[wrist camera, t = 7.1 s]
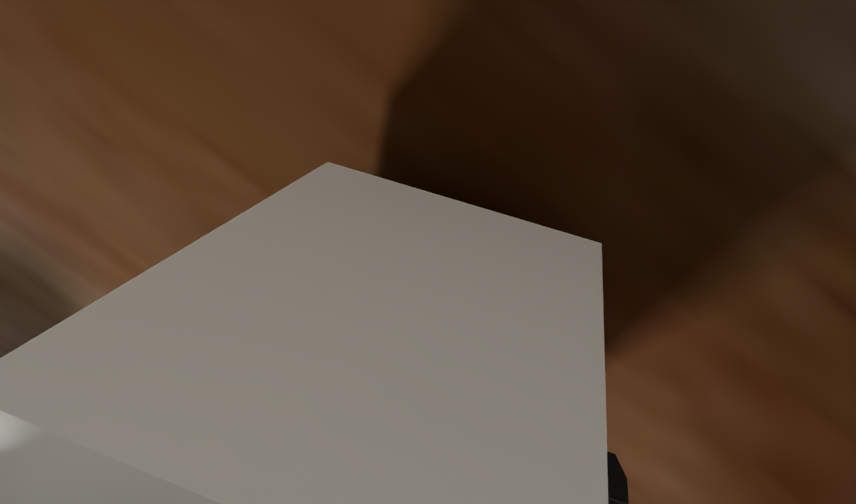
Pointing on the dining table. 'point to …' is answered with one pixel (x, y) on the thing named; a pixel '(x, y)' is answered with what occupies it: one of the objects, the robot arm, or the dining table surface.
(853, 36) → the dining table surface
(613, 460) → the robot arm
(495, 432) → the white matte cube
